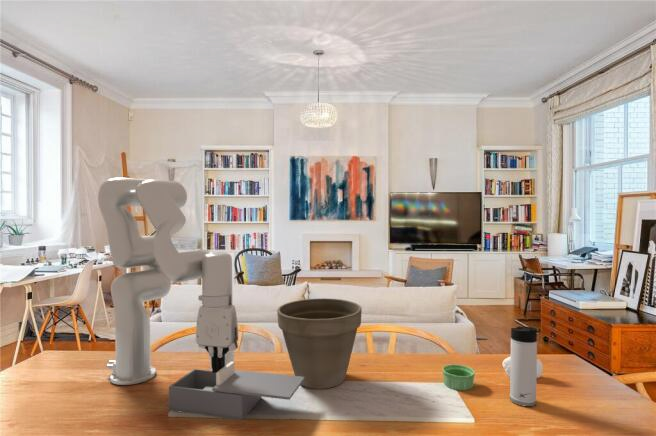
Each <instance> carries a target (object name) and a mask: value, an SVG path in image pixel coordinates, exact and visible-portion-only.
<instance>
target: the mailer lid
mask: <svg viewBox="0 0 656 436" xmlns="http://www.w3.org/2000/svg"><path fill="white" fill-rule="evenodd" d="M235 367H236V366H235V361H234V362H232V361H231V362H230V363H228V364H227V365H226V366H225V367H223V368H222V369H221V370H219V371H218V372H217V373H216V386H214V387H213V388H212V391H219V392H228V393H236V394H245V395H253V396H261V397H262V398H263V397H264V398H271V399H280V400H289V401H290V400H291V399H292V397H293V395H295V394H296V392H297V390H298V389H299V387H300V386H302V385H301V383H302V382H303V381H304V379H305V377H301V376H295V375H292V374H291V375H289V374H281V373H280V374H279V373H271V372H270V373H268V372H261V371H251V370H250V371H249V370H240V369H236V368H235Z"/></svg>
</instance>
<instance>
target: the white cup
mask: <svg viewBox="0 0 656 436" xmlns="http://www.w3.org/2000/svg"><path fill="white" fill-rule="evenodd" d="M218 348H219V347H218ZM208 356H209V355H208ZM208 359H209V366H210V370H212V366H211V357H210V356H209V358H208ZM234 359H235V350H233V351H228V352H227V353H226V354H225V366H226V365H227V364H228V363H230V362H231V361H232V362H235V360H234Z"/></svg>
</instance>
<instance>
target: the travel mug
mask: <svg viewBox="0 0 656 436" xmlns="http://www.w3.org/2000/svg"><path fill="white" fill-rule="evenodd" d="M510 334H511V335H510V345H511V346H510V356H511V361H510V377H509V379H510V380H509V381H510V382H509V384H510V385H509V388H510V389H509V400H510V401H511V402H512V403H513V402H514V403H513V404H515V403H516V404H515V405H517V404H520V405H525V406H532V407H534V406H533V405H535V404H537V379H538V378H537V359H538V357H537V356H538V340H537V339H538V338H537V337H538V328H536V327H532V326H517V327H512V328H510ZM535 406H536V405H535Z"/></svg>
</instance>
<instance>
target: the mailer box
mask: <svg viewBox="0 0 656 436" xmlns="http://www.w3.org/2000/svg"><path fill="white" fill-rule="evenodd" d="M214 386H216V372H215V373H213V372H212V370H211V369H202V368H194V369H192V370H191V371H190V372H188V373H187V374H185V375H183V376H182V377H181V378H179V379H178V380H176V381H175V382H173V383H172V384H171V385H169V386H168V410H169V411H173V412H179V411H181V413H186V412H187V413H188V414H194V415H195V414H196V415H201V416H202V415H203V416H211V417H218V418H225V419H230V420H231V419H233V420H239V421H240V420H241V421H243V419H244V418H246V416H247V415H248V414H249V412H251V410H253V408H254V407H255V406H256V405H257V404H258V403H259V401H260V400H261V399H262V398H263V397H261V396H253V395H245V394H236V393H228V392H219V391H212V388H213V387H214Z"/></svg>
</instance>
